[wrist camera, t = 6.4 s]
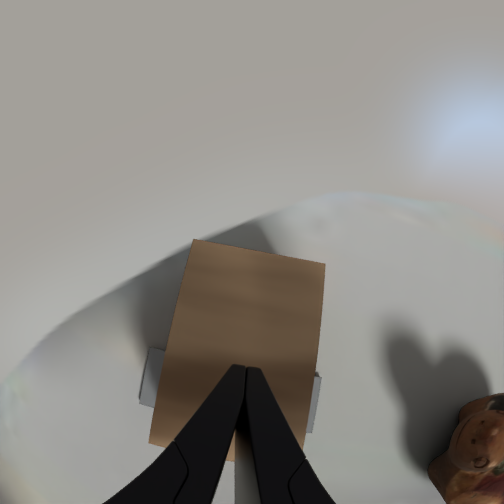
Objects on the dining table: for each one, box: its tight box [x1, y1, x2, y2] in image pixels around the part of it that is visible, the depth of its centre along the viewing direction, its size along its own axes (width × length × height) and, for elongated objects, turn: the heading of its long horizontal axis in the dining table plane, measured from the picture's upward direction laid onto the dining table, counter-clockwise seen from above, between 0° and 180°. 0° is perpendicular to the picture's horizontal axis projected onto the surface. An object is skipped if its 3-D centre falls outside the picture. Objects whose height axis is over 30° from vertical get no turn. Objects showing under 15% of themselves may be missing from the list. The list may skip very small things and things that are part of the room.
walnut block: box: [149, 239, 325, 462], centre depth 13 cm, size 5×6×9 cm
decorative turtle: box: [428, 393, 504, 504], centre depth 10 cm, size 10×15×8 cm, turn 56°
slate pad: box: [139, 347, 322, 433], centre depth 15 cm, size 4×10×1 cm, turn 80°
